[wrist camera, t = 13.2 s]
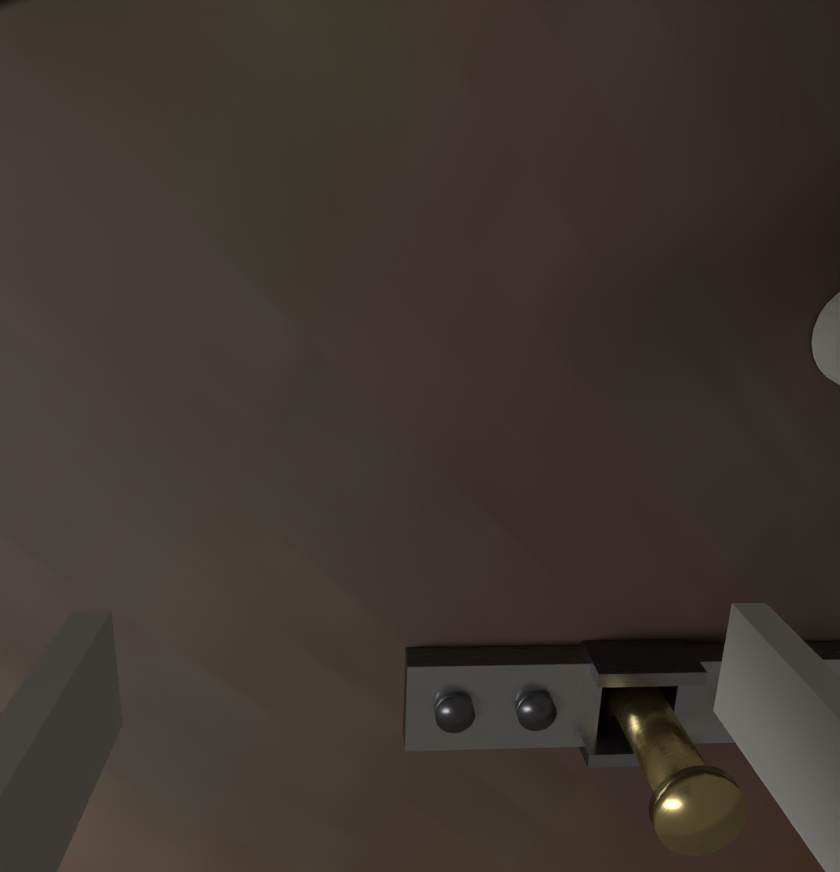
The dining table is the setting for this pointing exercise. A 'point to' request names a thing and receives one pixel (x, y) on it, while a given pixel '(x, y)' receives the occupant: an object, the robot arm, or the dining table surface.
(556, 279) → the dining table surface
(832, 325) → the cup
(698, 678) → the grey long bar piece
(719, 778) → the pin
